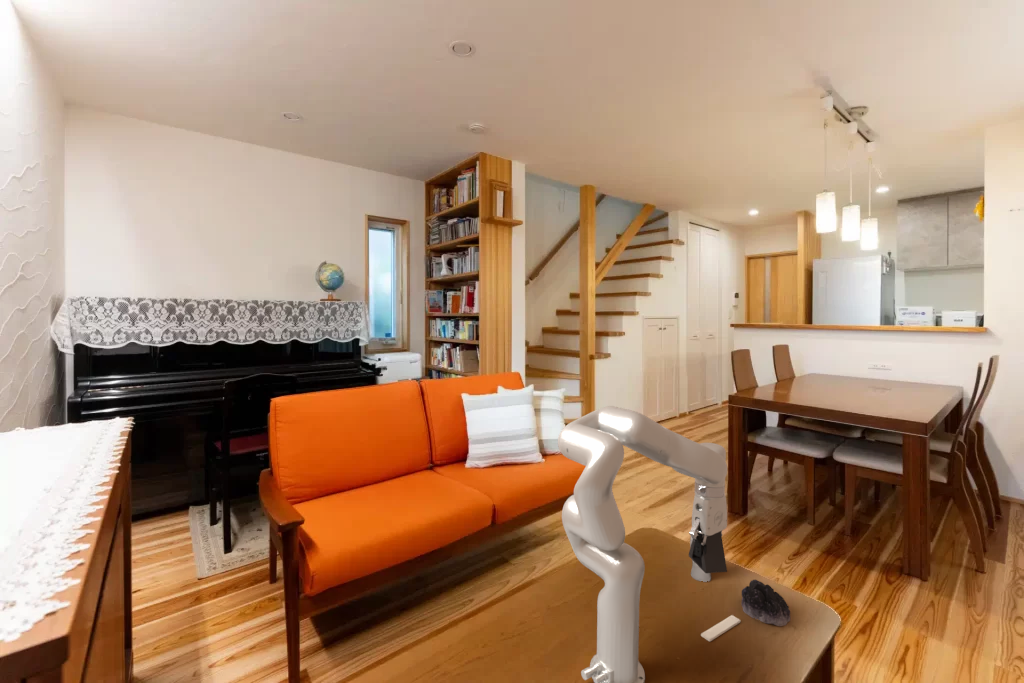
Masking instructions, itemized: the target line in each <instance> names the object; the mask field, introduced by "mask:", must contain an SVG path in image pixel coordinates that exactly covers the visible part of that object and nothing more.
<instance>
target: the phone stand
mask: <svg viewBox="0 0 1024 683" xmlns="http://www.w3.org/2000/svg"><path fill="white" fill-rule="evenodd" d="M700 531H701V532H702V530H701V528H700ZM699 536H700V537H701V539H702V536H703V535H702V534H700V533H699ZM705 545H707V551H706V555H705V553H704V549H703V548H702V558H700V557H698V556H696V555H695V554H694V552H695V542H694V539H693V540H692V544H691V547H690V546H689V547H690V548H689V552H688V558H690V559H691V561H692V560H693V561H694V562H695V563H696V564H697V565H698V566H699V567H700V568H701V569H702V570H703V571H704V572H705V573H711V574H715V573H716V574H717V573H727V572H728V567H727V560H726V555H725V551H724V549H725V548H724V542H723V535H722V536H721V531H720V532H718V533H715V534H713V535H711V536H707V538H706V542H705Z"/></svg>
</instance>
